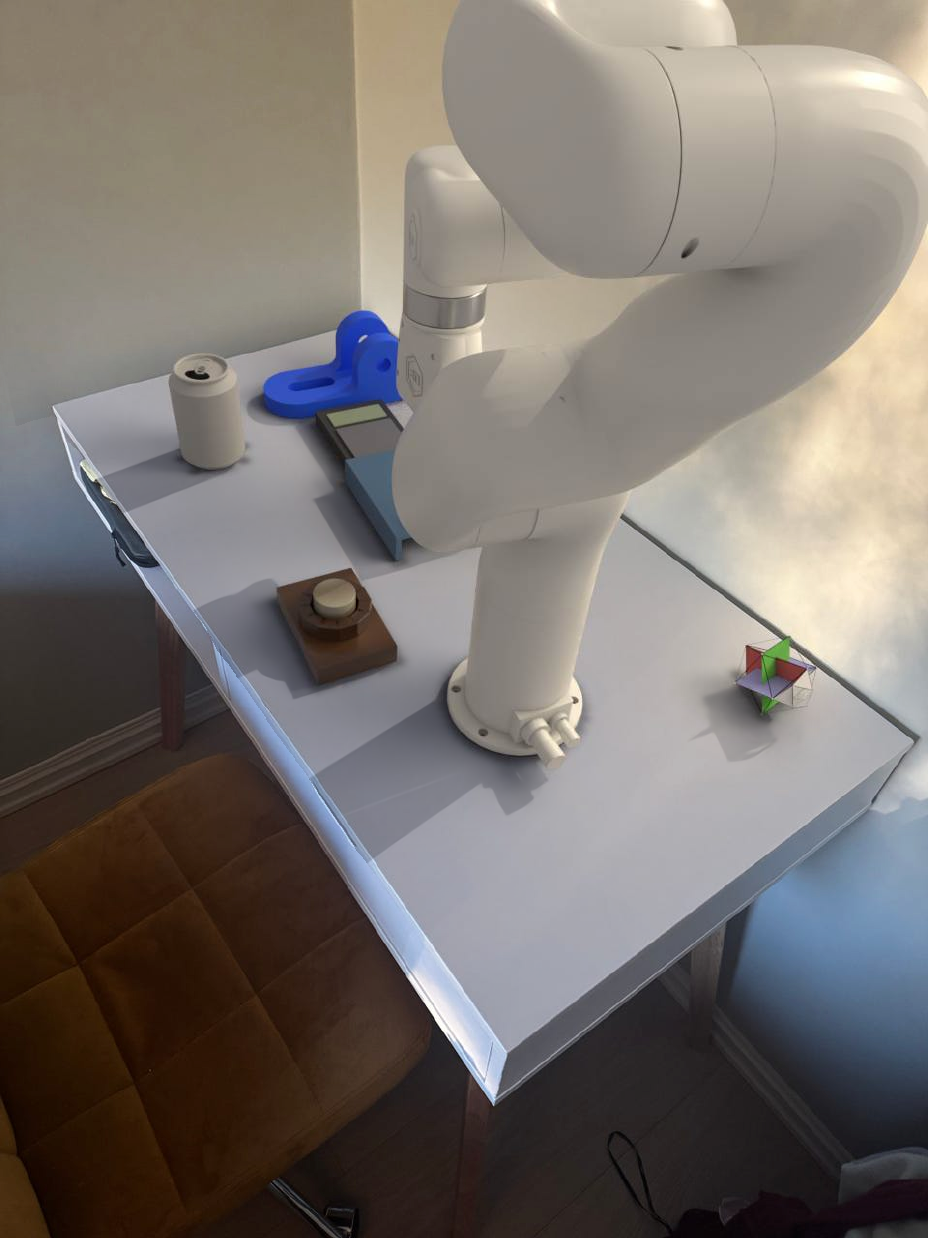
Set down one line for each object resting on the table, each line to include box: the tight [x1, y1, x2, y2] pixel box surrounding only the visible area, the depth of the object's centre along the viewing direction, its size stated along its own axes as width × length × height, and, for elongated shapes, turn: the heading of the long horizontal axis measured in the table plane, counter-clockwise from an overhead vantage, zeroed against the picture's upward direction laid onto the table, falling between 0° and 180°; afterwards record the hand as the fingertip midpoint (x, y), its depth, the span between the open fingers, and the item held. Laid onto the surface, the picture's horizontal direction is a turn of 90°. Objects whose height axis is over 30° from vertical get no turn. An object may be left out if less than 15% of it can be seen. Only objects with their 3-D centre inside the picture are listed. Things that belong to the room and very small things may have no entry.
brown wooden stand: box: [275, 567, 398, 686], centre depth 88 cm, size 12×8×4 cm, turn 26°
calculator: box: [314, 399, 405, 470], centre depth 111 cm, size 14×9×2 cm, turn 26°
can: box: [168, 352, 246, 471], centre depth 105 cm, size 8×8×12 cm
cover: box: [344, 449, 413, 562], centre depth 102 cm, size 15×11×5 cm
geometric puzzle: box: [733, 634, 818, 716], centre depth 85 cm, size 7×7×8 cm
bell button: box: [313, 579, 356, 620], centre depth 87 cm, size 4×4×2 cm
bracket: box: [262, 309, 404, 420], centre depth 117 cm, size 18×8×9 cm, turn 115°
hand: (436, 470), depth 94 cm, fingers closed
